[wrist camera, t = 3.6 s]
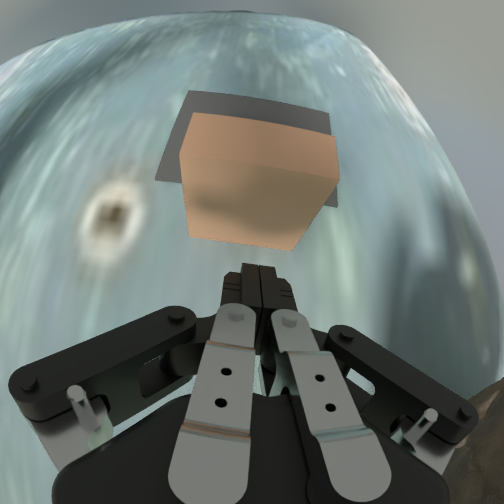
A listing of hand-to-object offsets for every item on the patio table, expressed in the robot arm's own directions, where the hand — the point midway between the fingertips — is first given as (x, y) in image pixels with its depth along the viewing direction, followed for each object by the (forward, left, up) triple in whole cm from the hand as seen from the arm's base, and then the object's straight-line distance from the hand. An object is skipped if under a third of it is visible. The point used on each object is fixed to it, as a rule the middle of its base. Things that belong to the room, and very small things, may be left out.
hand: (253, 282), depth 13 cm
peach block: (0, +9, -13) cm, 16 cm away
